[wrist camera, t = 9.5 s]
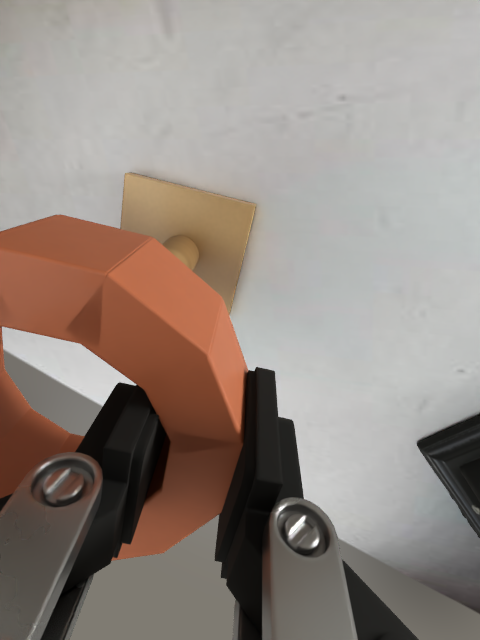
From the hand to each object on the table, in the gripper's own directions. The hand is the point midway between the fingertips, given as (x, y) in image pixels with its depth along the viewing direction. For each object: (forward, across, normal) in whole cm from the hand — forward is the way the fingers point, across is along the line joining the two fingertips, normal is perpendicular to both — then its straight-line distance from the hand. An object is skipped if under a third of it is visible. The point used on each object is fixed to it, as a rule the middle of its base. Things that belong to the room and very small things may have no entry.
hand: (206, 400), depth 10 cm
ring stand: (+15, +4, 0) cm, 15 cm away
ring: (0, +3, 0) cm, 3 cm away
